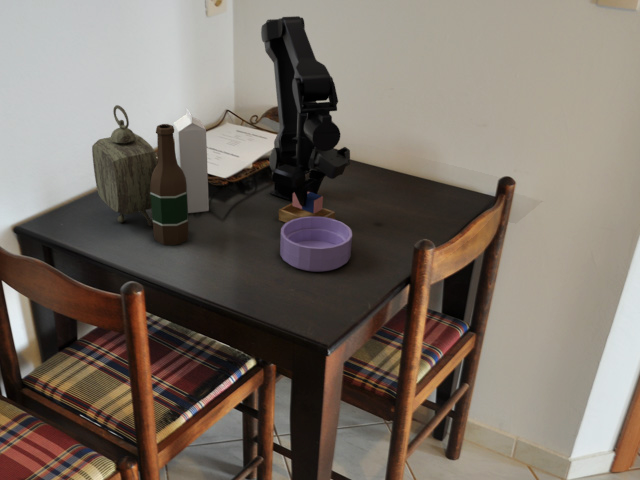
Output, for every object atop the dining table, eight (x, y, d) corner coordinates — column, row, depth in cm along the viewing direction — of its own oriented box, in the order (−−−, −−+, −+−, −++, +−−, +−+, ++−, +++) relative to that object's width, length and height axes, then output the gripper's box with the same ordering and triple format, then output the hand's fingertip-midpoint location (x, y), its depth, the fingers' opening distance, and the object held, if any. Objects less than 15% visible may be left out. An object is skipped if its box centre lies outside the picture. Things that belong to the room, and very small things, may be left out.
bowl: (266, 258, 153) (266, 233, 150) (307, 233, 162) (308, 210, 159) (323, 280, 146) (324, 255, 143) (363, 254, 155) (365, 230, 152)
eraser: (292, 206, 166) (292, 193, 165) (300, 201, 168) (301, 188, 167) (314, 213, 163) (314, 200, 162) (322, 209, 165) (323, 196, 164)
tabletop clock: (162, 227, 164) (154, 113, 149) (123, 237, 160) (111, 120, 145) (135, 203, 174) (124, 94, 159) (97, 212, 169) (83, 100, 155)
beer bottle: (196, 232, 162) (191, 122, 148) (180, 248, 156) (174, 135, 142) (163, 226, 164) (155, 117, 150) (146, 242, 158) (137, 129, 144)
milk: (183, 214, 170) (176, 117, 157) (178, 203, 174) (171, 108, 162) (209, 211, 171) (205, 114, 158) (204, 200, 176) (199, 105, 163)
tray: (278, 219, 168) (278, 209, 166) (298, 209, 173) (298, 199, 171) (315, 233, 163) (316, 222, 161) (334, 222, 167) (335, 211, 166)
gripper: (315, 155, 146) (311, 228, 155) (367, 131, 158) (361, 200, 167) (270, 142, 152) (269, 213, 161) (324, 119, 164) (320, 186, 173)
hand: (307, 203), depth 165 cm, fingers closed on eraser, 3 cm apart
